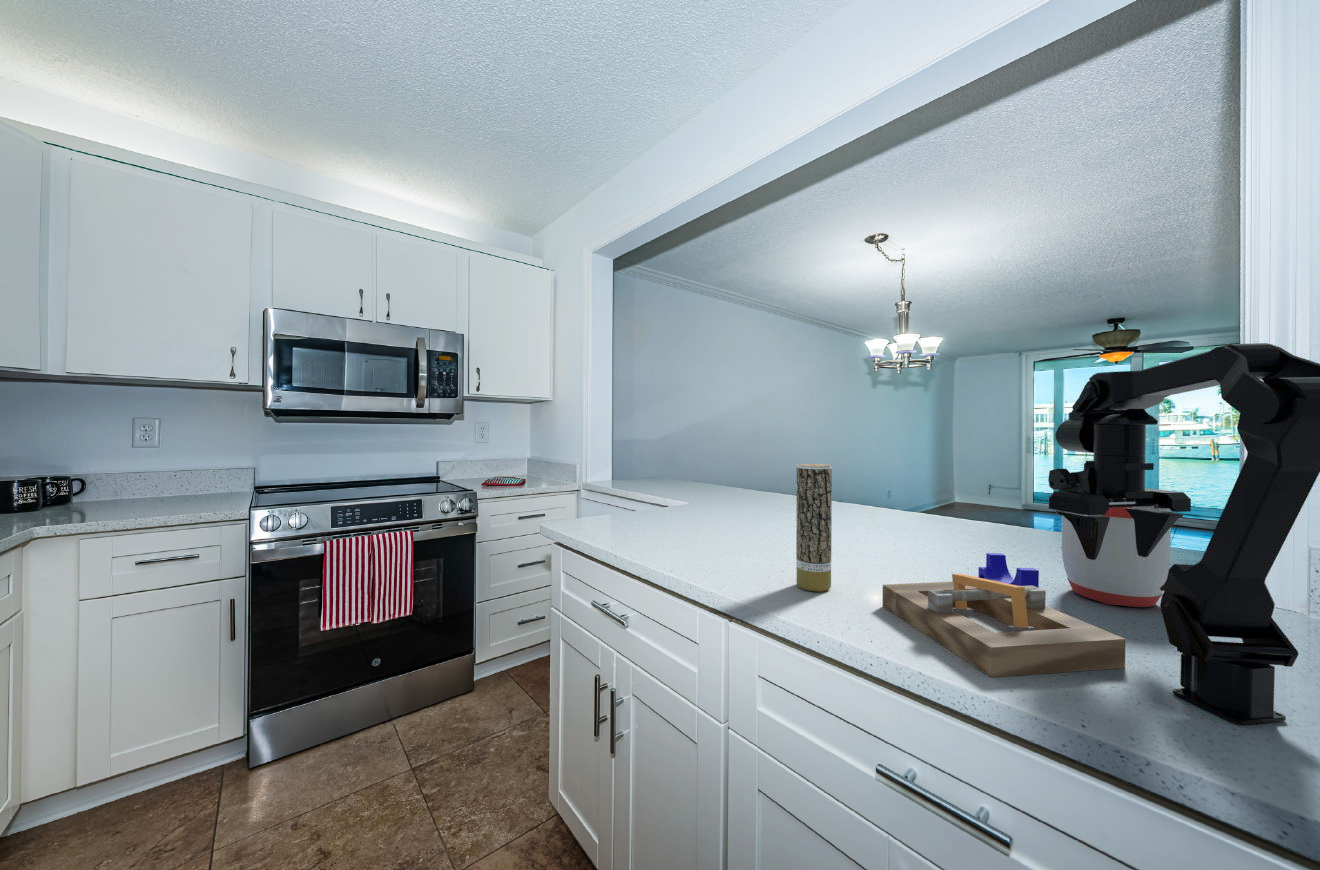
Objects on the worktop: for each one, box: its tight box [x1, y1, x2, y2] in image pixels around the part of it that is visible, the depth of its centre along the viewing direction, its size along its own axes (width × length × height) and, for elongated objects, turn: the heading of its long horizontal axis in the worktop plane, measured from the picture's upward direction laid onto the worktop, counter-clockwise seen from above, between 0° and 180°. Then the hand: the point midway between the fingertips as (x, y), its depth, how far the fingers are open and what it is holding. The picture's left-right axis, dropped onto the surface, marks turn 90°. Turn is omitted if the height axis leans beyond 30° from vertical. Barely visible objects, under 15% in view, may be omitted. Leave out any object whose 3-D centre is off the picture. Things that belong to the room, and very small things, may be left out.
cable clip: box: [977, 552, 1040, 588], centre depth 97 cm, size 12×4×6 cm, turn 173°
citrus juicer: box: [1061, 507, 1172, 608], centre depth 93 cm, size 16×17×20 cm
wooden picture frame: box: [882, 581, 1126, 678], centre depth 77 cm, size 25×20×7 cm
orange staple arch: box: [951, 573, 1036, 632], centre depth 77 cm, size 14×3×7 cm, turn 7°
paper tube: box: [795, 463, 833, 593], centre depth 99 cm, size 7×7×25 cm
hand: (1117, 557), depth 74 cm, fingers open, 9 cm apart
